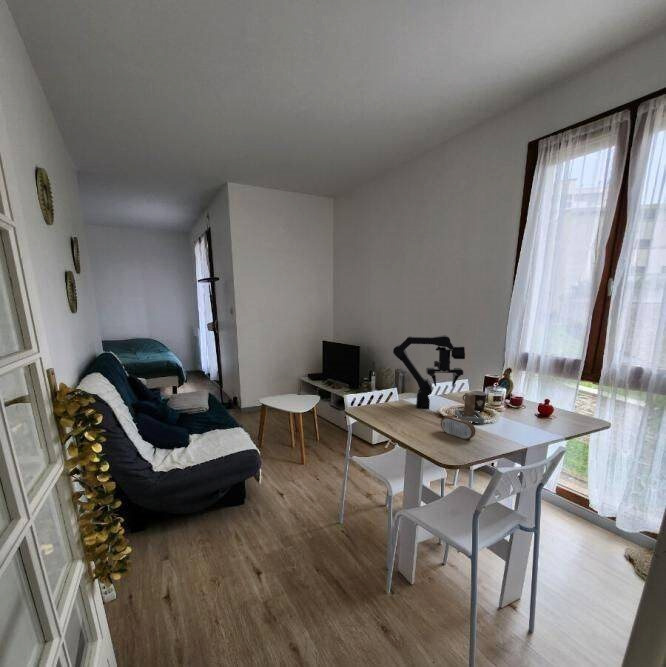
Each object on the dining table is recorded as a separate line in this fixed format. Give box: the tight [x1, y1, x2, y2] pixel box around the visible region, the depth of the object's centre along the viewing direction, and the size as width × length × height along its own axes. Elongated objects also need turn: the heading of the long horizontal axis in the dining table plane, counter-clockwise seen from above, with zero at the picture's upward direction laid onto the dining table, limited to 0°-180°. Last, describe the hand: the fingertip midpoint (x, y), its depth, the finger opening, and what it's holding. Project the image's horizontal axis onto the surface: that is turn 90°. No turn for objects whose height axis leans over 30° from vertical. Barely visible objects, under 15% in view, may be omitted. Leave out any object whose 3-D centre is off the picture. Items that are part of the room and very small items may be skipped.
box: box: [454, 409, 485, 425], centre depth 162 cm, size 11×11×3 cm
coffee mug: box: [462, 390, 488, 413], centre depth 176 cm, size 12×9×10 cm
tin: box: [440, 414, 476, 441], centre depth 142 cm, size 15×3×8 cm, turn 44°
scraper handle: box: [462, 392, 476, 417], centre depth 162 cm, size 5×5×13 cm
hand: (444, 386), depth 175 cm, fingers open, 9 cm apart
